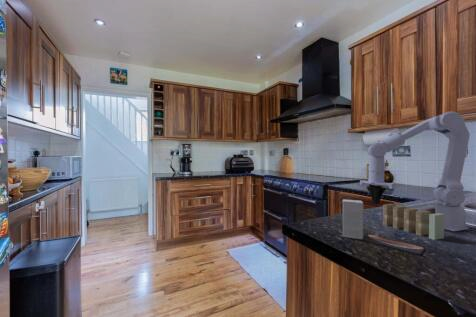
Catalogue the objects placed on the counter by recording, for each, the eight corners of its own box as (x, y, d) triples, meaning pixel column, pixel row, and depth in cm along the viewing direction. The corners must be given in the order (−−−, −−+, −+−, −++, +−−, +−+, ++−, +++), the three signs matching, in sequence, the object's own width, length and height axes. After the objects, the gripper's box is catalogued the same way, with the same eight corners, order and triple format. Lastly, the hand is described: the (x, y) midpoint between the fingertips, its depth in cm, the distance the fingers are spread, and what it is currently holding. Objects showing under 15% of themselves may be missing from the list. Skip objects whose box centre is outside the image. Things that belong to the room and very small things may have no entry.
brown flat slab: (369, 234, 76) (425, 247, 65) (368, 236, 76) (425, 250, 65) (360, 238, 71) (420, 254, 60) (360, 241, 71) (420, 257, 60)
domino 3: (403, 230, 81) (404, 208, 81) (412, 229, 83) (413, 208, 83) (408, 232, 80) (408, 209, 80) (417, 230, 81) (417, 209, 81)
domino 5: (444, 238, 74) (444, 214, 74) (434, 239, 72) (434, 215, 72) (438, 236, 75) (438, 213, 75) (428, 238, 74) (429, 214, 74)
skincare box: (362, 236, 75) (362, 200, 75) (363, 240, 71) (363, 202, 71) (342, 233, 77) (342, 198, 77) (342, 237, 73) (342, 200, 73)
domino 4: (415, 234, 77) (416, 211, 77) (425, 232, 79) (425, 210, 79) (420, 235, 76) (421, 212, 76) (430, 234, 78) (430, 211, 78)
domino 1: (382, 224, 89) (383, 204, 89) (391, 223, 90) (391, 203, 90) (386, 225, 87) (386, 205, 87) (395, 224, 89) (395, 204, 89)
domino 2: (392, 227, 85) (393, 206, 85) (401, 226, 87) (402, 205, 87) (397, 228, 83) (397, 207, 83) (406, 227, 85) (406, 206, 85)
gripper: (355, 170, 100) (354, 200, 100) (386, 172, 86) (385, 207, 86) (366, 170, 102) (366, 200, 102) (398, 172, 89) (398, 206, 89)
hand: (375, 203), depth 95 cm, fingers closed
